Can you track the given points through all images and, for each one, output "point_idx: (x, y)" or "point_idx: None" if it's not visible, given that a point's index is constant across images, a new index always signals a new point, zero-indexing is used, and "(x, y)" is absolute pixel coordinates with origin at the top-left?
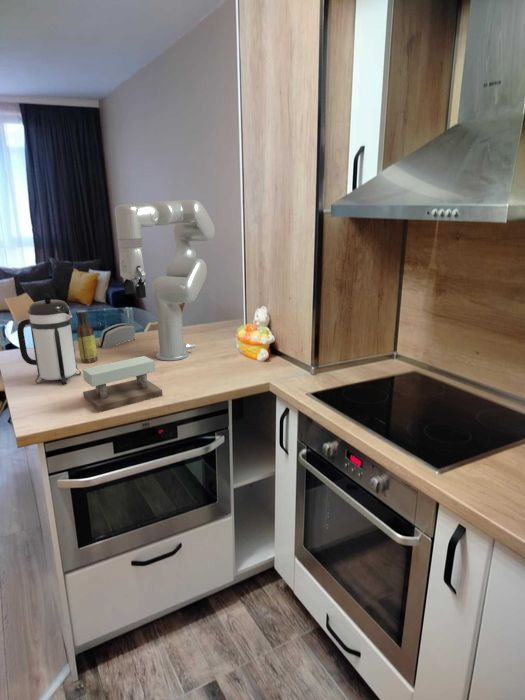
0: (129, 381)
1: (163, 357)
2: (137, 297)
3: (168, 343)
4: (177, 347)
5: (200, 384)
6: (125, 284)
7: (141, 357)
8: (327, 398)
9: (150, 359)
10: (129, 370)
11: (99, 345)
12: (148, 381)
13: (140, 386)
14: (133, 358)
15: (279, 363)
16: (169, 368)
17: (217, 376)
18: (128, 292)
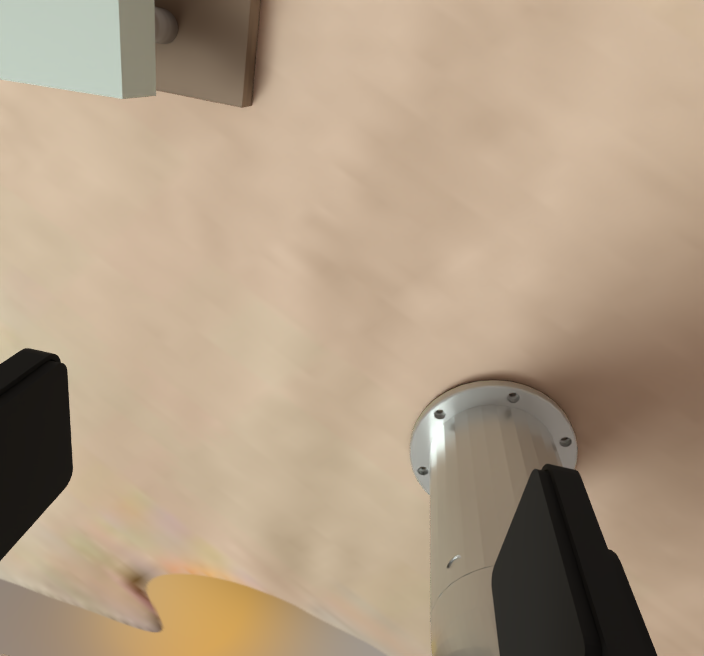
0: (242, 10)
1: (473, 393)
2: (24, 359)
3: (458, 460)
4: (431, 474)
5: (68, 273)
6: (577, 637)
7: (100, 60)
8: None
9: (22, 77)
10: None
11: None
12: (171, 89)
13: None
14: (114, 2)
15: (88, 584)
16: (347, 326)
17: (109, 377)
18: (524, 520)
